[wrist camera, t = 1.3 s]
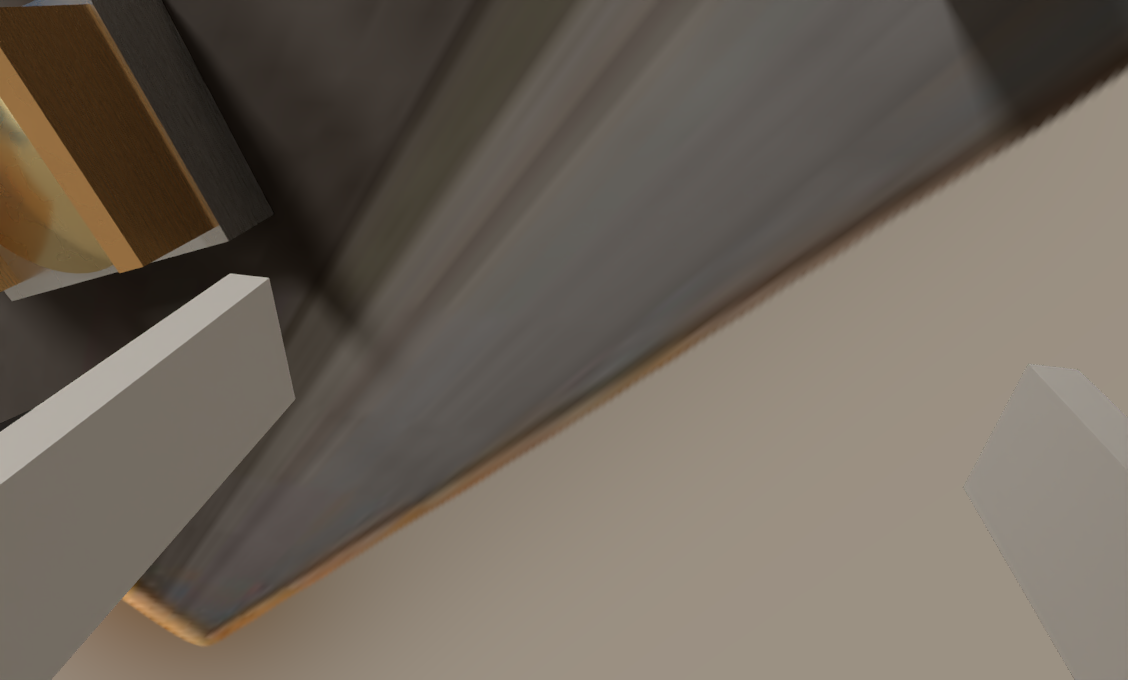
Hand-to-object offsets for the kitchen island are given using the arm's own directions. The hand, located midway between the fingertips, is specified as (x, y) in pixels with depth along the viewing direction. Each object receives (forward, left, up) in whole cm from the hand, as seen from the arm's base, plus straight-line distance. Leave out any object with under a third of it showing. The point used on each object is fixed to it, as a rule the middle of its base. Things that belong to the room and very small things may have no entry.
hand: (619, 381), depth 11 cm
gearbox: (-7, -34, -27) cm, 44 cm away
